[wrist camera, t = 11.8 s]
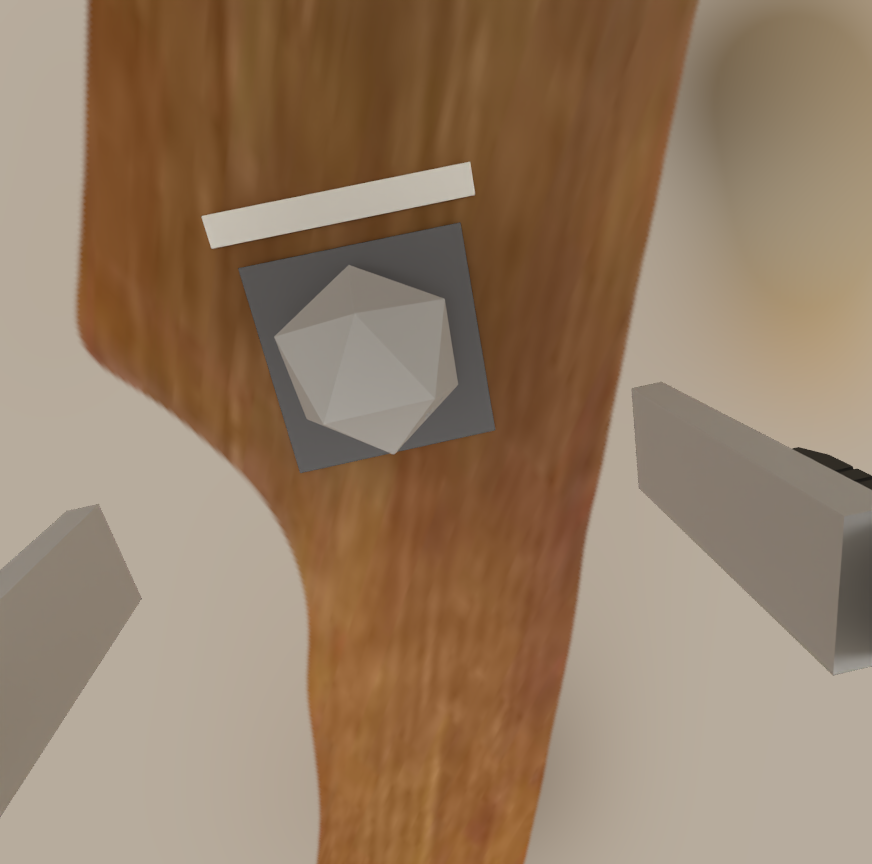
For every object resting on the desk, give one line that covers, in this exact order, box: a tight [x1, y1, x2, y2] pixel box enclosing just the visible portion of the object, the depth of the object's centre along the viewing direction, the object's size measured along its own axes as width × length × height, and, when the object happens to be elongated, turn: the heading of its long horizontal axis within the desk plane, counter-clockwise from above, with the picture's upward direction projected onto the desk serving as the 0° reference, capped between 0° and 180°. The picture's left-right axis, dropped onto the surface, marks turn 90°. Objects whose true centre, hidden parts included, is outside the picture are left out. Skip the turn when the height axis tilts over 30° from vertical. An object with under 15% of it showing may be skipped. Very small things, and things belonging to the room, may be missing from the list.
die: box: [274, 265, 458, 454], centre depth 28 cm, size 8×9×10 cm
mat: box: [201, 162, 495, 473], centre depth 31 cm, size 14×15×1 cm
